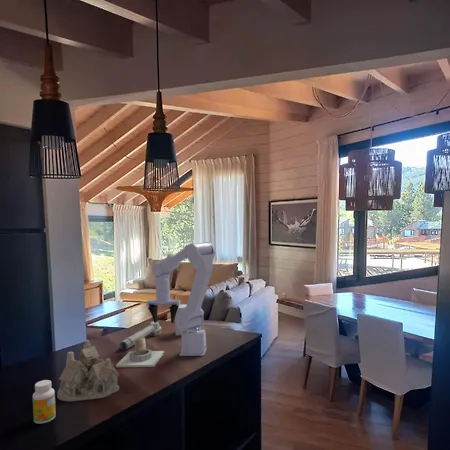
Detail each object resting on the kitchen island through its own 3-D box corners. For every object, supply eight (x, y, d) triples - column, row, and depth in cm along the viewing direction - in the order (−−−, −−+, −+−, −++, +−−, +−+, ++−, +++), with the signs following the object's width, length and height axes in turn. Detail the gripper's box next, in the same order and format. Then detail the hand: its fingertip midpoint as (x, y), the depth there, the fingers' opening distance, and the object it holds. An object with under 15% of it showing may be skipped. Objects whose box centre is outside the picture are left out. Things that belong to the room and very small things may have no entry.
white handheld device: (117, 340, 154) (153, 317, 176) (119, 356, 155) (155, 330, 177) (127, 342, 152) (162, 318, 174) (129, 357, 153) (164, 331, 175)
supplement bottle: (29, 422, 99) (27, 386, 99) (45, 412, 104) (43, 377, 104) (44, 425, 98) (42, 388, 97) (60, 415, 103) (58, 379, 102)
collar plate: (163, 352, 148) (163, 345, 148) (154, 366, 134) (153, 359, 134) (129, 353, 149) (129, 346, 149) (116, 367, 135) (115, 359, 135)
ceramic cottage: (51, 394, 116) (51, 345, 115) (99, 377, 128) (100, 334, 128) (74, 412, 105) (75, 360, 105) (125, 393, 117) (126, 345, 117)
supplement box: (193, 330, 177) (192, 303, 177) (191, 335, 169) (189, 307, 169) (178, 330, 178) (177, 304, 177) (175, 335, 170) (173, 307, 170)
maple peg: (147, 355, 143) (146, 337, 143) (144, 359, 139) (143, 340, 139) (137, 355, 144) (136, 337, 144) (134, 359, 140) (133, 341, 140)
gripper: (142, 292, 155) (144, 324, 156) (175, 292, 152) (177, 325, 152) (149, 288, 162) (151, 320, 163) (181, 288, 159) (183, 320, 159)
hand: (164, 322), depth 158 cm, fingers open, 7 cm apart
